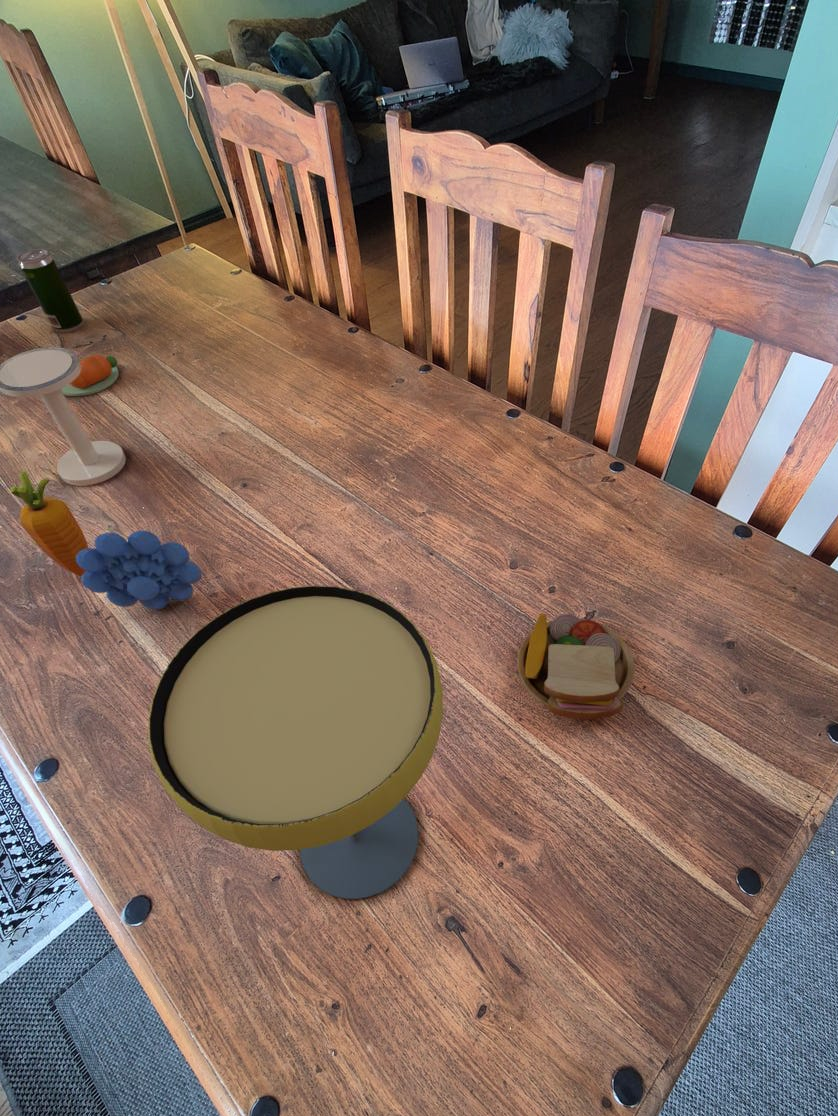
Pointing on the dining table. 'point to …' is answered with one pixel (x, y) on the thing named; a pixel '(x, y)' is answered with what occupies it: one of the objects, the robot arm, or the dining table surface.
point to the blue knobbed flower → (138, 570)
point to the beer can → (50, 290)
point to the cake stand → (61, 411)
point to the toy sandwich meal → (576, 667)
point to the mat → (91, 386)
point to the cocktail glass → (303, 731)
